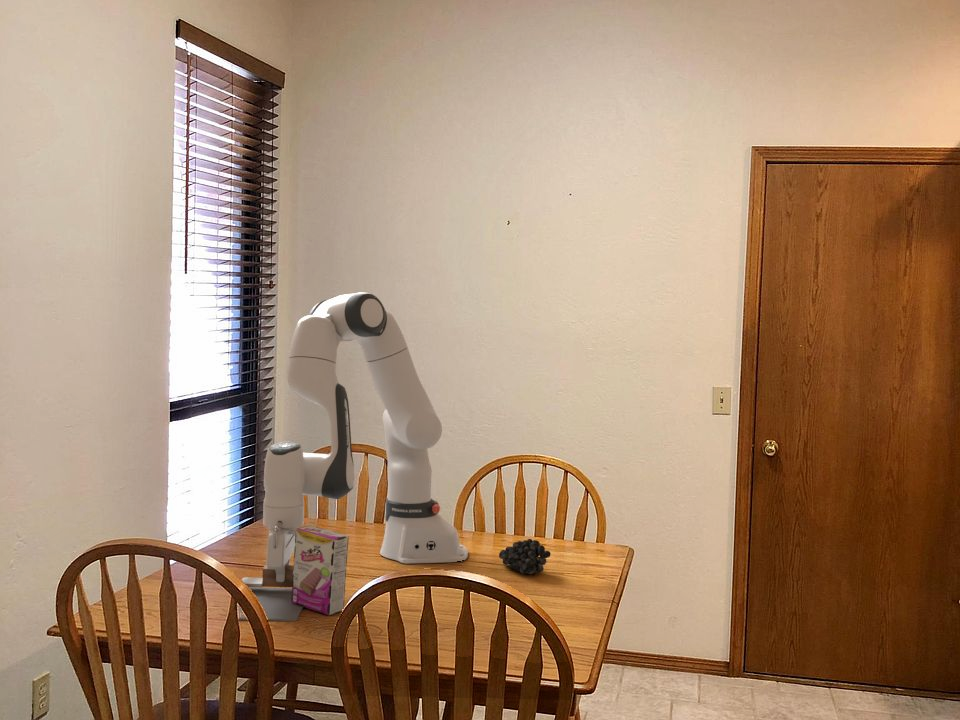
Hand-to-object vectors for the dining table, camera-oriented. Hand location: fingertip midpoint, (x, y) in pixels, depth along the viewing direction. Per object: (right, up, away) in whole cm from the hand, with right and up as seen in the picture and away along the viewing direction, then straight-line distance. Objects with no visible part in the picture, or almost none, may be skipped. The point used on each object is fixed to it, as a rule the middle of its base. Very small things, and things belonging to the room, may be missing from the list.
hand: (282, 577), depth 218 cm
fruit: (+54, -4, +24) cm, 59 cm away
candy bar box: (+9, -4, -10) cm, 14 cm away
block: (-3, -2, 0) cm, 3 cm away
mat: (-1, -4, -8) cm, 9 cm away
